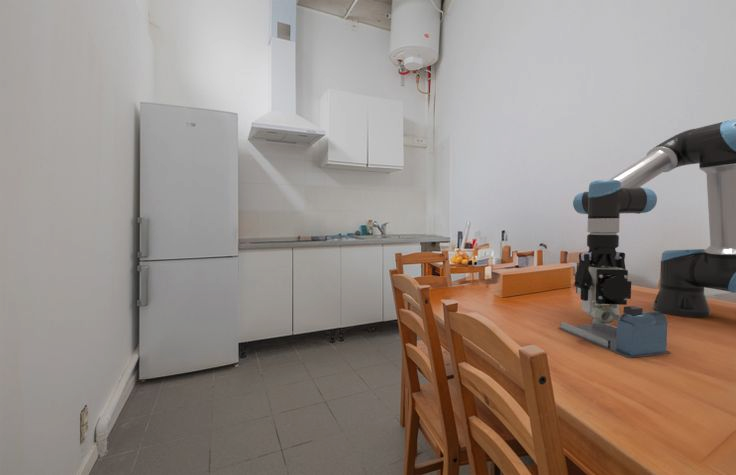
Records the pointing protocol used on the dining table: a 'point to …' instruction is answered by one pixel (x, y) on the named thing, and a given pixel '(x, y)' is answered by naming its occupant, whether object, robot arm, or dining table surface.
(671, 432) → the dining table surface
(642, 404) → the dining table surface
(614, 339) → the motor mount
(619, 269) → the ball valve
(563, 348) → the dining table surface
